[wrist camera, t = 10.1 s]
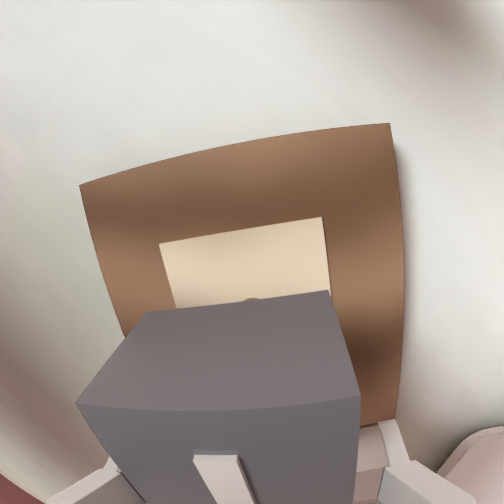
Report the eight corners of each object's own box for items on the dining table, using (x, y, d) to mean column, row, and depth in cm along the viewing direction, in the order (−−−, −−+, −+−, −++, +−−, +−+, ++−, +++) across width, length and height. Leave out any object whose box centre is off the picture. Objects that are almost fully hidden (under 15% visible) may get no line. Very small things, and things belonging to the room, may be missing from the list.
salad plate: (491, 504, 21) (498, 521, 18) (349, 535, 22) (352, 559, 19) (589, 380, 15) (605, 398, 11) (454, 405, 16) (474, 441, 12)
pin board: (97, 181, 13) (36, 195, 9) (377, 126, 11) (421, 115, 7) (189, 443, 17) (173, 494, 13) (385, 424, 16) (401, 478, 12)
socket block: (146, 311, 9) (71, 407, 5) (328, 289, 8) (362, 401, 4) (216, 479, 11) (200, 559, 7) (336, 472, 10) (344, 557, 6)
